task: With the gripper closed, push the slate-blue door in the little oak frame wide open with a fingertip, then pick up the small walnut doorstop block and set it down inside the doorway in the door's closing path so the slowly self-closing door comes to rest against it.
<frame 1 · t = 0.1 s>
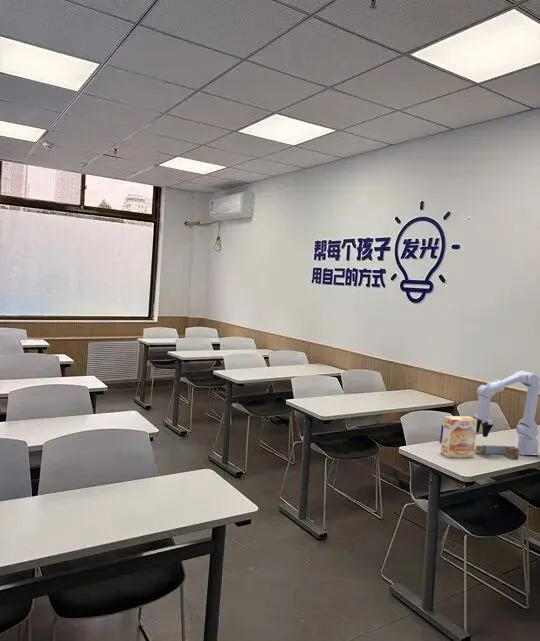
hand: (480, 434, 268), 10 cm above the table, tool pointing down, fingers open, 7 cm apart
coffeecake box: (456, 455, 262), on the table
puzzle cube: (450, 443, 285), on the table
walnut doorstop block: (511, 458, 265), on the table
oak door frame: (483, 453, 269), on the table
slate-blue door: (493, 449, 270), point 2 cm above the table, hinge at 0.0°
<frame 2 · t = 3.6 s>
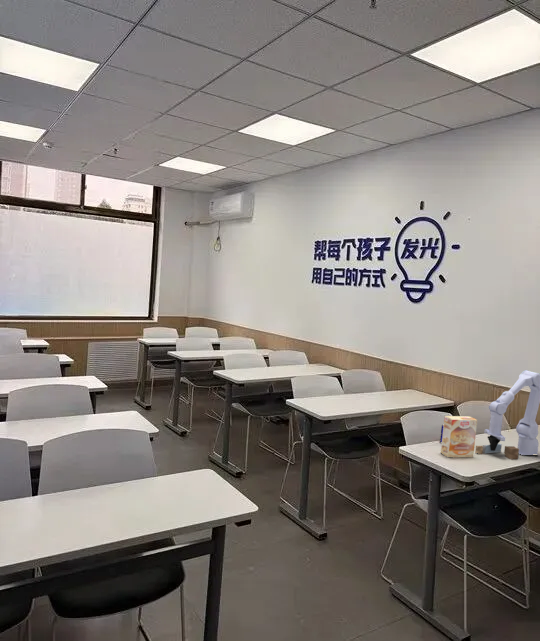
hand: (492, 450, 269), 2 cm above the table, tool pointing down, fingers closed
slate-blue door: (491, 448, 271), point 2 cm above the table, hinge at 15.2°, touching gripper
everything else where it was.
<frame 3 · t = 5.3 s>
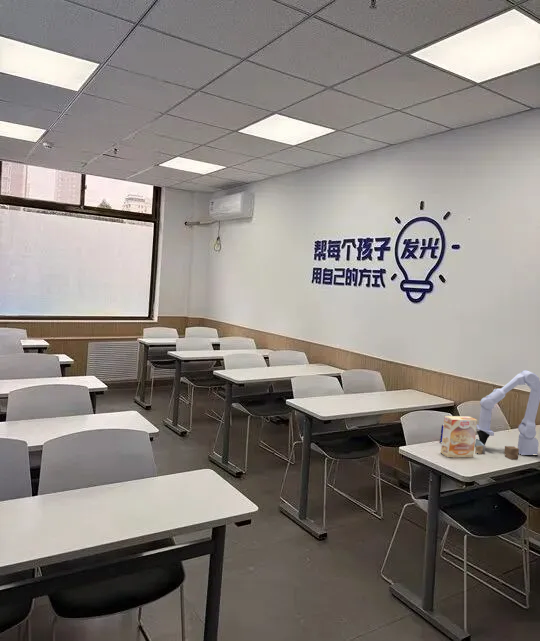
hand: (482, 445, 278), 2 cm above the table, tool pointing down, fingers closed
slate-blue door: (480, 445, 274), point 2 cm above the table, hinge at 73.9°, touching gripper
everything else where it was.
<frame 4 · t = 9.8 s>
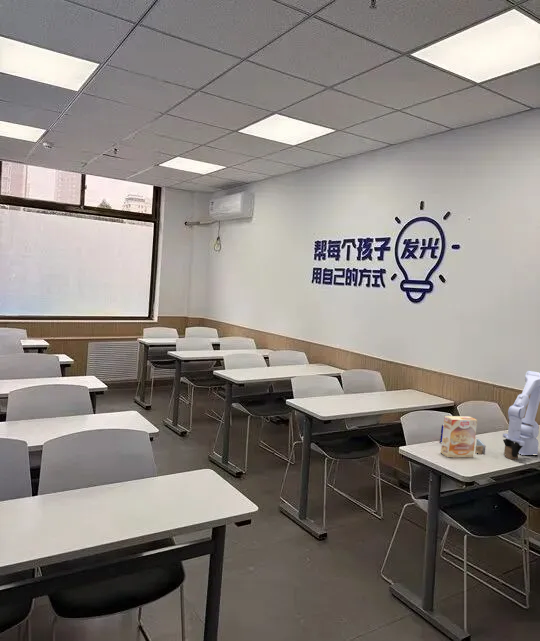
hand: (511, 455, 265), 1 cm above the table, tool pointing down, fingers closed on walnut doorstop block, 4 cm apart
walnut doorstop block: (511, 457, 265), on the table, touching gripper
slate-blue door: (480, 446, 274), point 2 cm above the table, hinge at 71.2°
everything else where it was.
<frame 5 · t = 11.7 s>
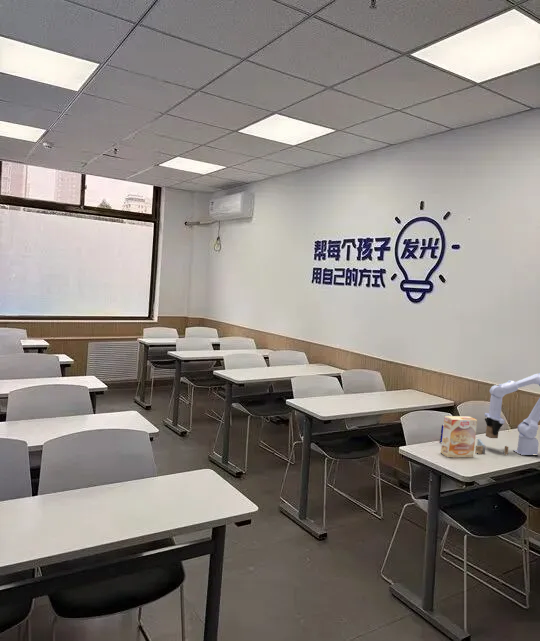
hand: (492, 433, 275), 9 cm above the table, tool pointing down, fingers closed on walnut doorstop block, 4 cm apart
walnut doorstop block: (491, 437, 275), point 7 cm above the table, touching gripper
slate-blue door: (481, 446, 274), point 2 cm above the table, hinge at 68.9°
everything else where it was.
when the fingers open (2 cm above the table, at t = 13.5 s): walnut doorstop block stays where it is, on the table.
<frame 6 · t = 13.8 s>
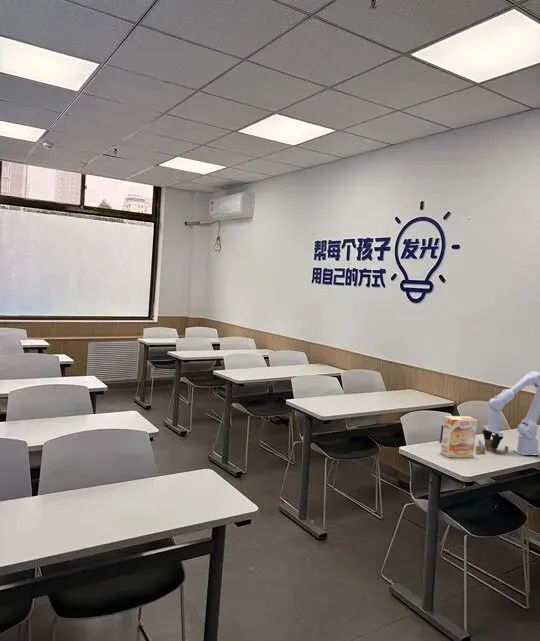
hand: (491, 446, 275), 2 cm above the table, tool pointing down, fingers open, 6 cm apart
walnut doorstop block: (490, 450, 276), on the table
slate-blue door: (481, 446, 274), point 2 cm above the table, hinge at 66.6°
everything else where it was.
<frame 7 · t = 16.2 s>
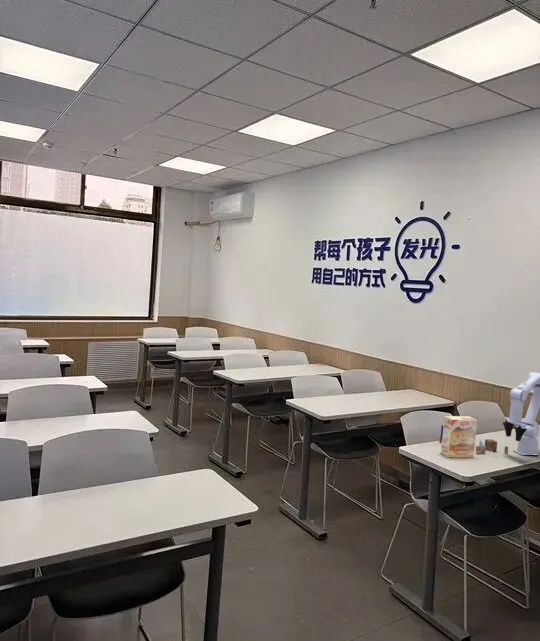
hand: (513, 438, 263), 10 cm above the table, tool pointing down, fingers open, 7 cm apart
slate-blue door: (482, 446, 274), point 2 cm above the table, hinge at 64.0°
everything else where it was.
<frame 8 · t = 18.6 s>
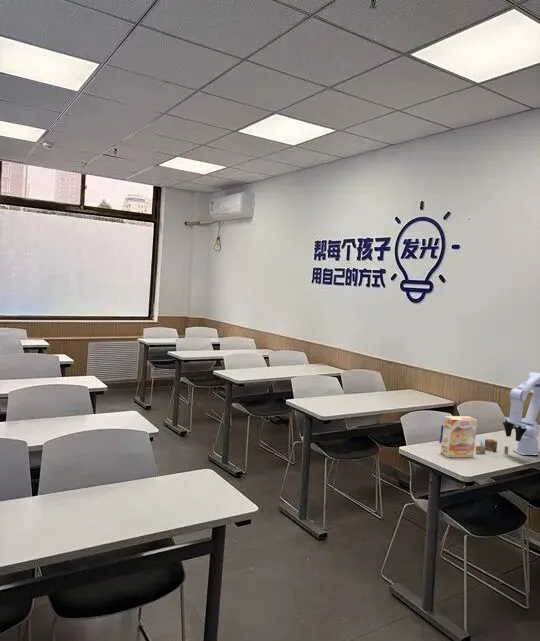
hand: (513, 438, 263), 10 cm above the table, tool pointing down, fingers open, 7 cm apart
slate-blue door: (482, 446, 274), point 2 cm above the table, hinge at 61.6°
everything else where it was.
at the end: slate-blue door at +62° (first picture: +0°); walnut doorstop block inside the target area (0.3 cm from its centre), on the table; walnut doorstop block tilted 0° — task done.
